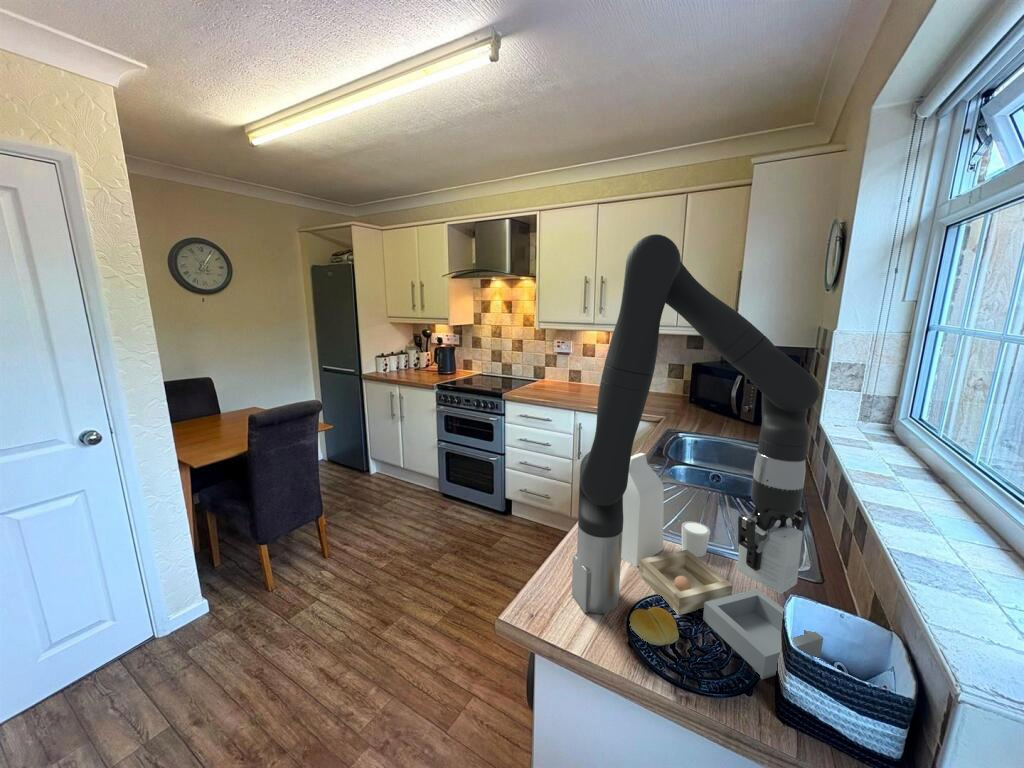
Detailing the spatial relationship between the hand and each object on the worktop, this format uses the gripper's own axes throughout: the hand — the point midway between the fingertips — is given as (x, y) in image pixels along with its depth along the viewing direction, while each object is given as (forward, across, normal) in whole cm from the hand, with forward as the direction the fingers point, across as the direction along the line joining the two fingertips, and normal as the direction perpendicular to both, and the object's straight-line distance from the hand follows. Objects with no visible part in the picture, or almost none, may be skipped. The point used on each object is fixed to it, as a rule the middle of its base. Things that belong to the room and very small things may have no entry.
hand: (767, 564), depth 74 cm
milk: (+16, -6, +33) cm, 37 cm away
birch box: (+16, -4, +16) cm, 23 cm away
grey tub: (+16, 0, 0) cm, 16 cm away
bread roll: (+16, -18, +8) cm, 25 cm away
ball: (+15, -5, +15) cm, 22 cm away
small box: (+3, 0, 0) cm, 3 cm away
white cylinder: (+16, +9, +27) cm, 33 cm away
